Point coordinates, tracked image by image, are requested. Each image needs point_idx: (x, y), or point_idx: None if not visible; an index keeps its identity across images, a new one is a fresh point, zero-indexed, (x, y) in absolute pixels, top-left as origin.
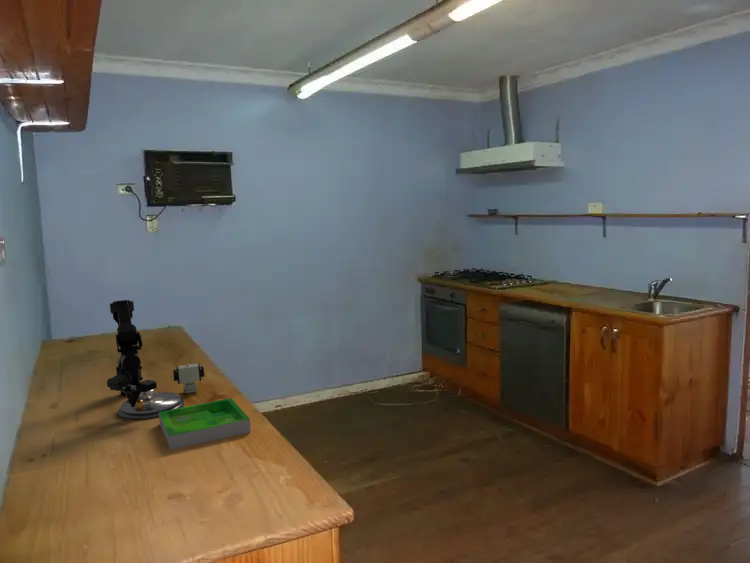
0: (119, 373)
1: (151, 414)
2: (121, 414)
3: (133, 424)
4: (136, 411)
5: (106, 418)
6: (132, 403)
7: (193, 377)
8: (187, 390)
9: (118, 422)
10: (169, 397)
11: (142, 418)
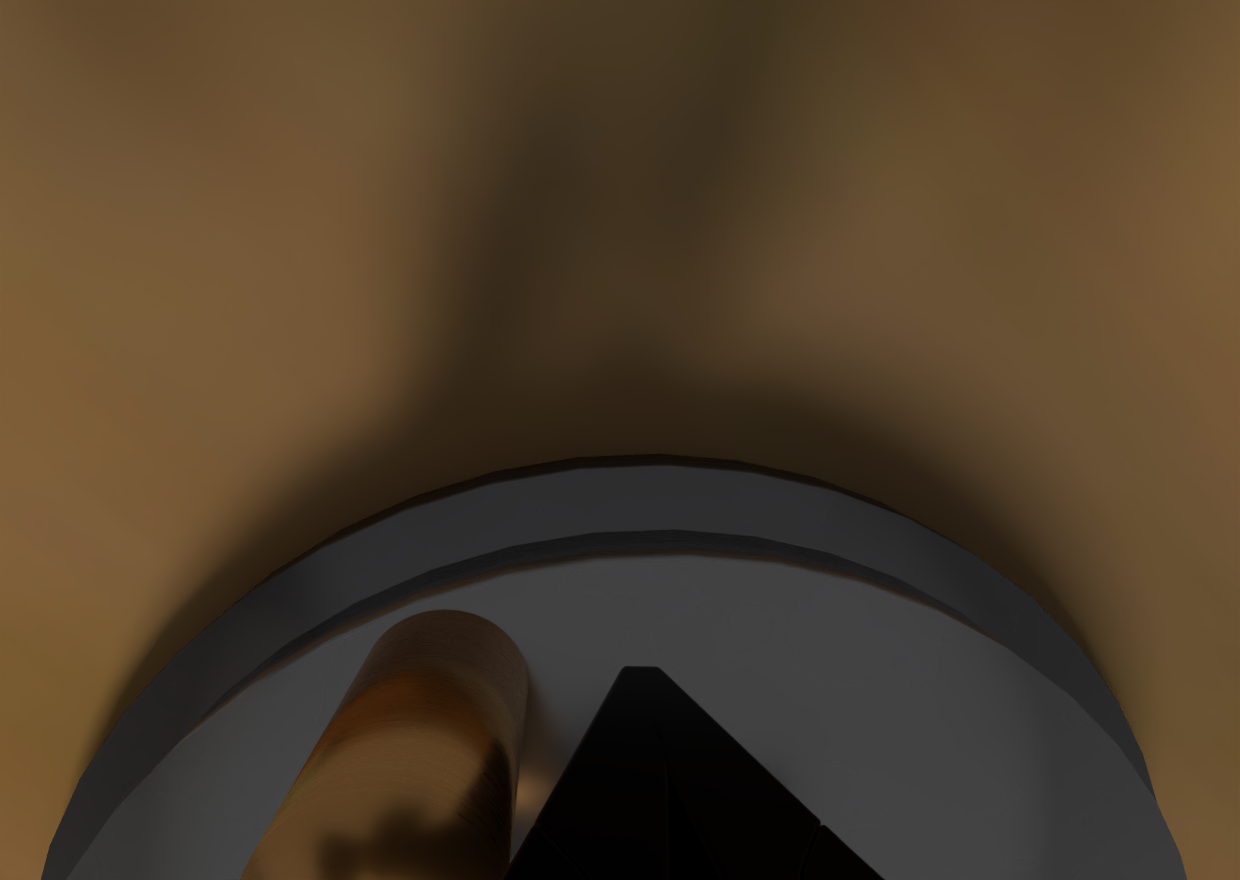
0: None
1: None
2: (870, 515)
3: (289, 260)
4: (462, 592)
5: (1092, 367)
6: (595, 722)
7: None
8: None
9: (698, 264)
10: None
11: (333, 534)
